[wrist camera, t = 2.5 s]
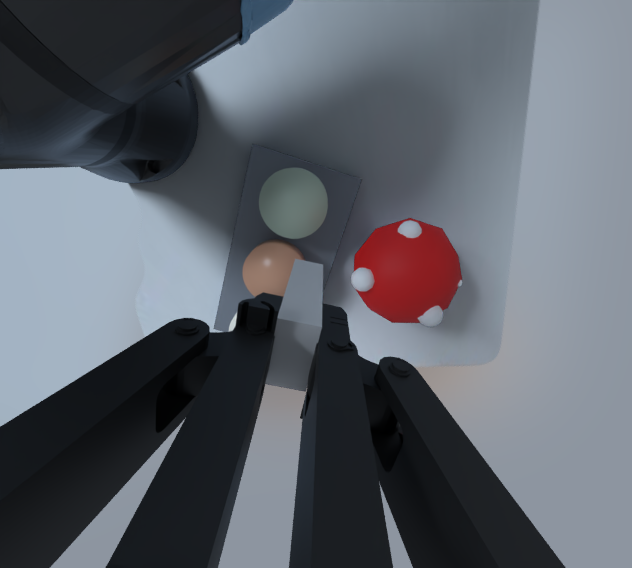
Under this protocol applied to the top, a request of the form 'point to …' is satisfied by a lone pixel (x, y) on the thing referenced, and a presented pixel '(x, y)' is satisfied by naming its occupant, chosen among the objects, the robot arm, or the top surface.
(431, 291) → the mushroom
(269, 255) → the terracotta cap
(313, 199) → the sage cap
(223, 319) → the button board
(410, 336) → the top surface
